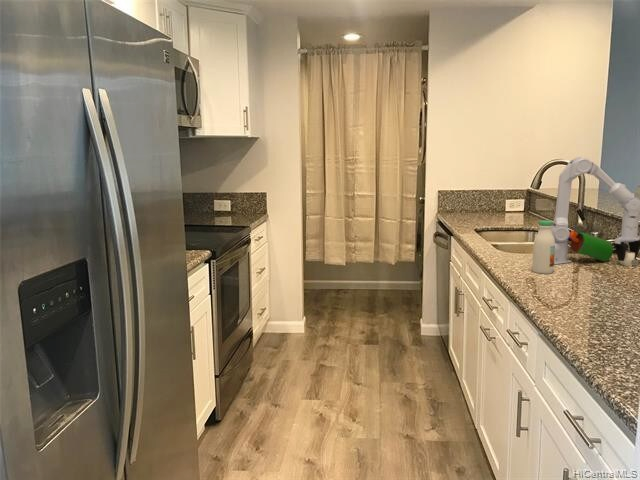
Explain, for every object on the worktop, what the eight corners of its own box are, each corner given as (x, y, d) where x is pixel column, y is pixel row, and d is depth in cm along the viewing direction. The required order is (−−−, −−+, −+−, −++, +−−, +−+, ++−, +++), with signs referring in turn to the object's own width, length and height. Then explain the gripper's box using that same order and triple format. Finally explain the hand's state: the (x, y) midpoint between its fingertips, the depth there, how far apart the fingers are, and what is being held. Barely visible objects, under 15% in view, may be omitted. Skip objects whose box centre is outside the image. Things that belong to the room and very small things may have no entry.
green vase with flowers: (590, 255, 233) (555, 243, 226) (599, 237, 230) (564, 224, 224) (607, 264, 223) (570, 252, 217) (617, 245, 221) (581, 232, 215)
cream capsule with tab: (632, 267, 214) (634, 255, 214) (617, 264, 220) (618, 252, 220) (641, 265, 217) (642, 253, 216) (625, 262, 223) (626, 250, 222)
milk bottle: (543, 275, 203) (547, 223, 200) (527, 271, 210) (530, 220, 206) (557, 272, 207) (561, 221, 203) (541, 268, 213) (544, 219, 210)
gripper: (627, 229, 210) (624, 263, 212) (650, 226, 216) (647, 259, 219) (611, 227, 216) (608, 259, 219) (634, 224, 223) (631, 256, 225)
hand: (626, 259), depth 219 cm, fingers open, 7 cm apart
